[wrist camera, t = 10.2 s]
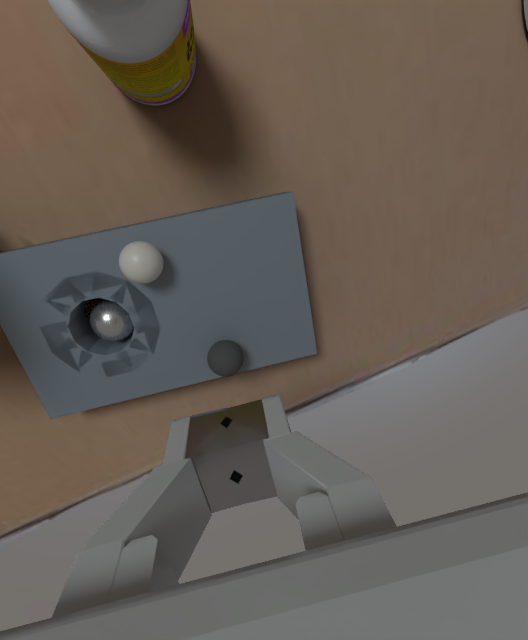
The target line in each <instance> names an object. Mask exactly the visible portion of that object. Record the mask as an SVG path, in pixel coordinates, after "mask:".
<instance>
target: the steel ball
mask: <svg viewBox="0 0 528 640" xmlns="http://www.w3.org/2000/svg"><path fill="white" fill-rule="evenodd" d="M90 324H91V327H92V329H93V331H94V332H95V333H96V334H97V335H98V336H99V337H101V338H103V339H105V340H110V341H116V340H121V339H123V338H125V337H127V336H128V335H130V334H131V332H132V331H133V330H134V326H133V323H132V320H131V318H130V315H129V313H128V312H127V311H126V310H124V309H123V308H122V307H121V306H120V305H119V304H117V303H116V302H113V301H110V300H103V301H101V302H100V303H98V304H97V305H96V306H95V307H94V308H93V310H92V312H91V315H90Z"/></svg>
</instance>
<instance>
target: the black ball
mask: <svg viewBox="0 0 528 640" xmlns="http://www.w3.org/2000/svg"><path fill="white" fill-rule="evenodd" d="M243 361H244V355H243V351H242V349H241V348H240V346H239V345H238V344H237V343H235V342H233V341H230V340H221V341H218V342H216V343H215V344H214V345H213V346H212V347H211V348H210V350H209V352H208V355H207V362H208V365H209V367H210V369H211V370H212V371H213V372H214V373H215V374H217V375H219V376H224V377H226V376H231V375H234V374H235V373H237V372H238V371H239V370H240V368H241V367H242V365H243Z"/></svg>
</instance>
